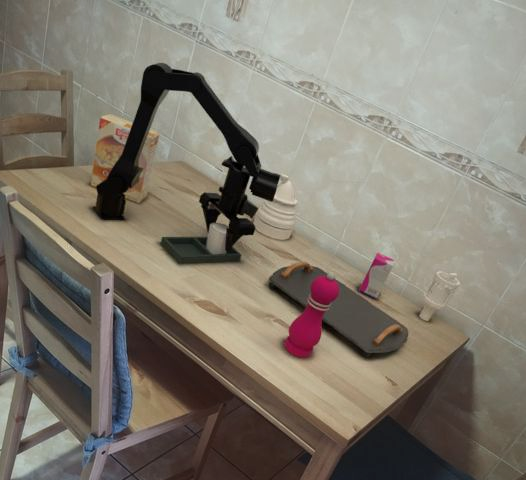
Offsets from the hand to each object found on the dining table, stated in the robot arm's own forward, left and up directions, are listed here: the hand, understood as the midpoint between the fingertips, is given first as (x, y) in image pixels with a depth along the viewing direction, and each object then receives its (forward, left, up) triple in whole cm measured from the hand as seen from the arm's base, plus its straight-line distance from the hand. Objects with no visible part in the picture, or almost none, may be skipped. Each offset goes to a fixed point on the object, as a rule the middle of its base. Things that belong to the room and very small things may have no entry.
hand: (218, 242), depth 137 cm
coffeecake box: (-12, +36, -3) cm, 38 cm away
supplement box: (+40, -25, -3) cm, 48 cm away
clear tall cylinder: (+50, -40, -3) cm, 64 cm away
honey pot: (+31, +13, -3) cm, 34 cm away
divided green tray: (-5, 0, -3) cm, 6 cm away
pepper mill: (-5, -42, -3) cm, 42 cm away
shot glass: (0, 0, -3) cm, 3 cm away
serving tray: (+18, -32, -3) cm, 37 cm away
